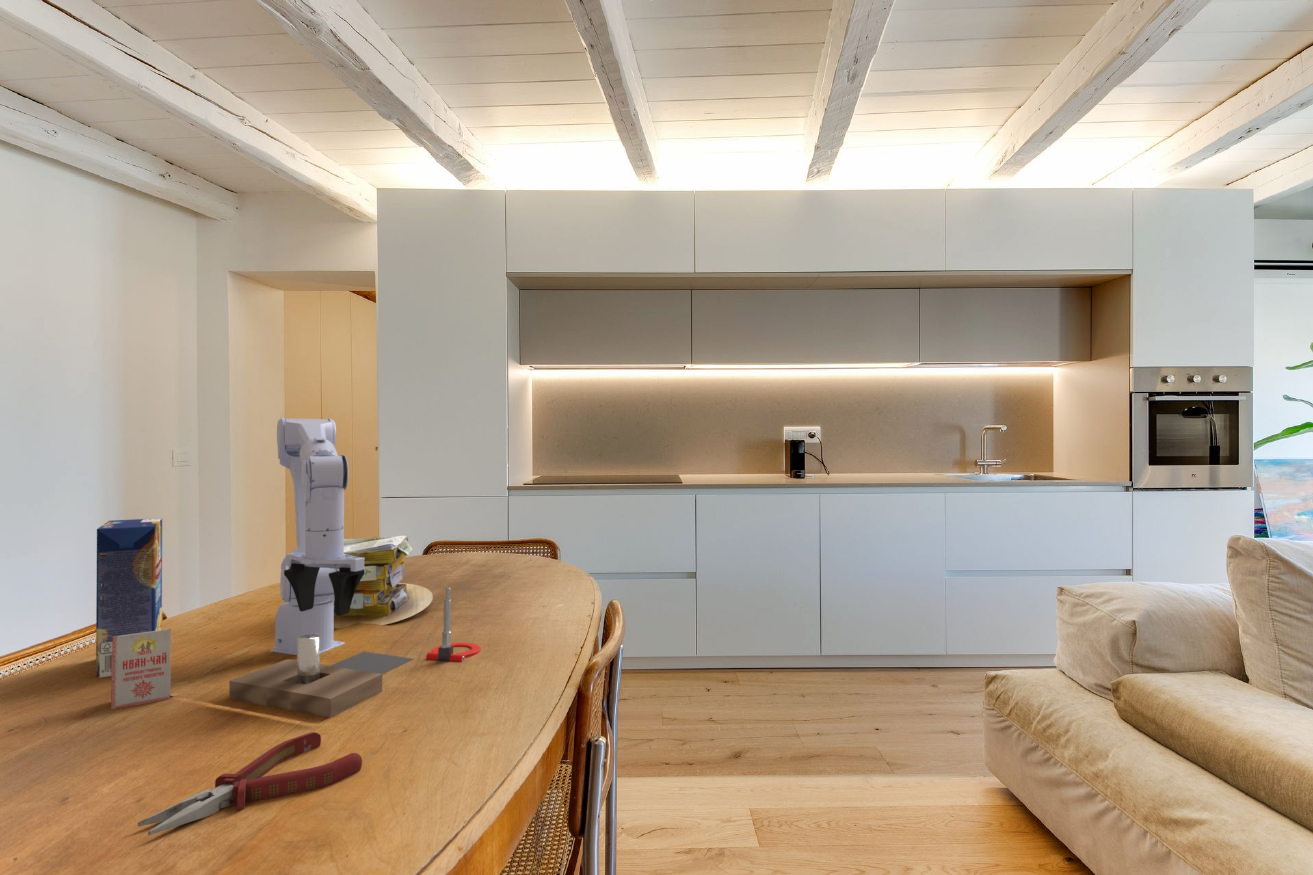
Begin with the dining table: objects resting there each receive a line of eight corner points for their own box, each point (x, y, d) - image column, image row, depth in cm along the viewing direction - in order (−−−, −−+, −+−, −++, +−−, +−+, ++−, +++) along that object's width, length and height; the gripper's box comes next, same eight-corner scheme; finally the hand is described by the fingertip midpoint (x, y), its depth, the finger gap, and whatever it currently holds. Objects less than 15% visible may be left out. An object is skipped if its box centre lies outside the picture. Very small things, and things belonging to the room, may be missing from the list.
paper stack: (390, 632, 131) (391, 549, 131) (282, 624, 136) (283, 544, 136) (451, 602, 155) (452, 531, 155) (358, 596, 160) (358, 527, 160)
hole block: (229, 701, 97) (229, 680, 97) (287, 677, 107) (287, 659, 107) (330, 720, 91) (330, 698, 91) (382, 693, 101) (382, 673, 101)
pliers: (122, 820, 68) (122, 795, 68) (315, 746, 85) (315, 726, 85) (165, 864, 61) (166, 836, 61) (366, 774, 78) (366, 752, 78)
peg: (292, 699, 98) (292, 639, 98) (308, 691, 101) (308, 633, 101) (308, 701, 97) (308, 641, 97) (324, 693, 100) (324, 635, 100)
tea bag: (113, 701, 97) (113, 633, 97) (170, 691, 101) (170, 625, 101) (111, 709, 94) (111, 639, 94) (170, 698, 98) (170, 632, 98)
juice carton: (154, 669, 110) (154, 526, 109) (95, 678, 106) (96, 529, 105) (161, 649, 120) (162, 517, 120) (108, 656, 116) (109, 520, 116)
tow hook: (444, 647, 124) (420, 661, 115) (447, 578, 124) (423, 587, 115) (487, 650, 123) (466, 665, 114) (489, 580, 123) (468, 589, 114)
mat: (314, 674, 108) (314, 672, 108) (363, 653, 118) (363, 651, 118) (367, 683, 105) (367, 680, 105) (414, 660, 115) (414, 658, 115)
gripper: (269, 530, 106) (269, 613, 106) (340, 534, 102) (340, 622, 102) (305, 524, 113) (305, 603, 113) (373, 528, 108) (373, 611, 108)
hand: (324, 611), depth 108 cm, fingers open, 7 cm apart
